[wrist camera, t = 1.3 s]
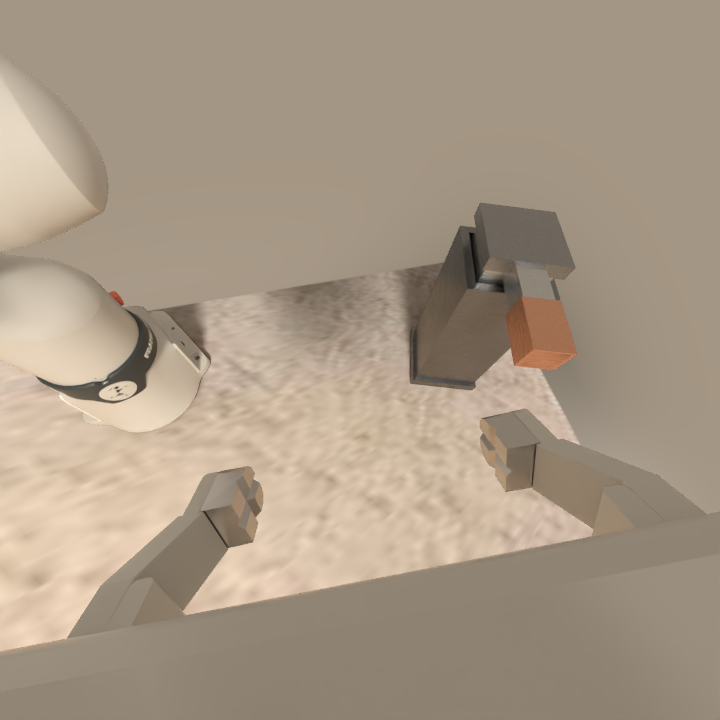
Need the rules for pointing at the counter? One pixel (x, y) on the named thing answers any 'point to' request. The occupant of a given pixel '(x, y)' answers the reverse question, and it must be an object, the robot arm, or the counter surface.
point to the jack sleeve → (460, 324)
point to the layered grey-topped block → (526, 279)
